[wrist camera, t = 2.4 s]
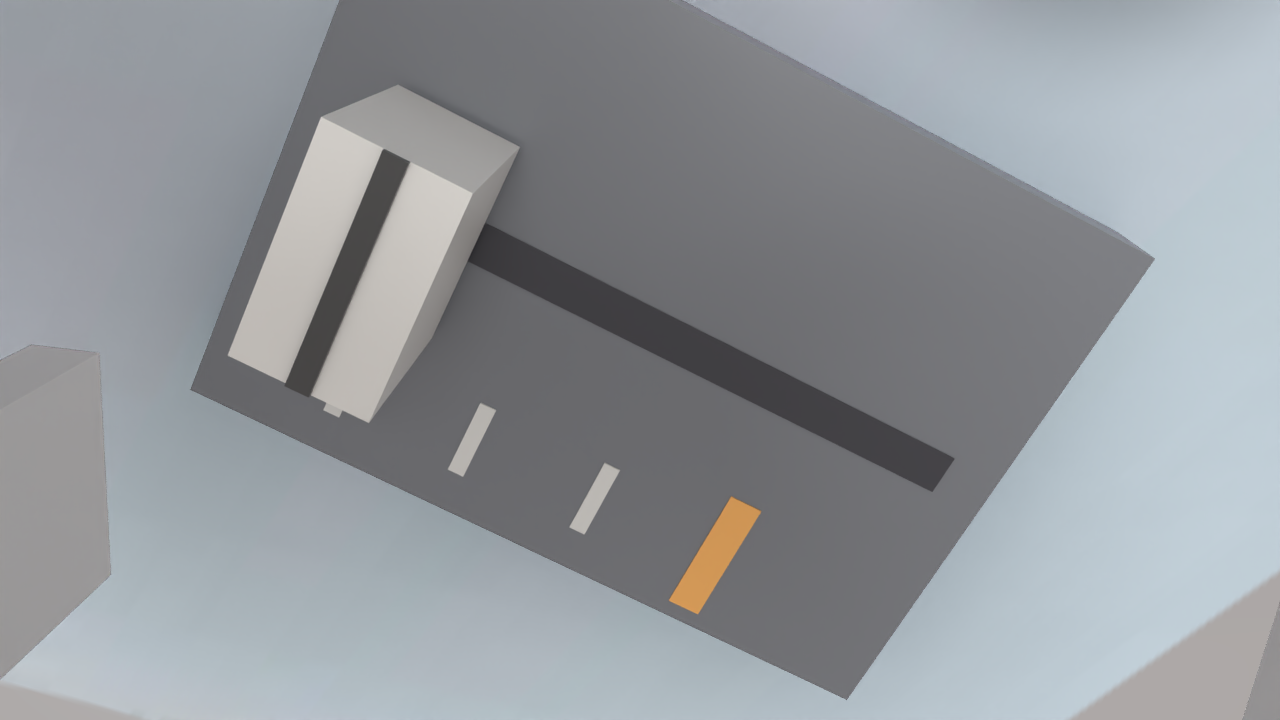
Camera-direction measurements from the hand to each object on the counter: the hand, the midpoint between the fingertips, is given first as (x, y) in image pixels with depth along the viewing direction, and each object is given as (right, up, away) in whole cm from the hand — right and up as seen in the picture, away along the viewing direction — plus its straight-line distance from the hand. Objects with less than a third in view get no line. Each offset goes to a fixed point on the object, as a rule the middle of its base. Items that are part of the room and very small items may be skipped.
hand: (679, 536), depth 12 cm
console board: (0, +4, +22) cm, 22 cm away
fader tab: (-6, +6, +18) cm, 20 cm away
